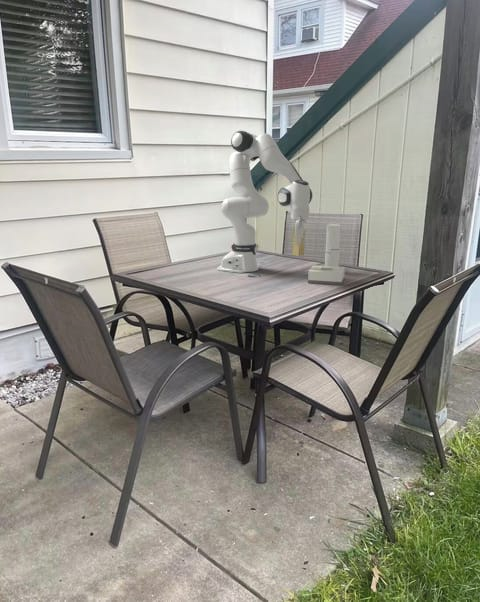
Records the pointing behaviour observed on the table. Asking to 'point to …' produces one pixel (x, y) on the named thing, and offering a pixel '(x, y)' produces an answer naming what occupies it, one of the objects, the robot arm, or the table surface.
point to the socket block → (326, 275)
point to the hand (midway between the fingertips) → (298, 243)
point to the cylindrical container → (332, 245)
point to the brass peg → (298, 249)
